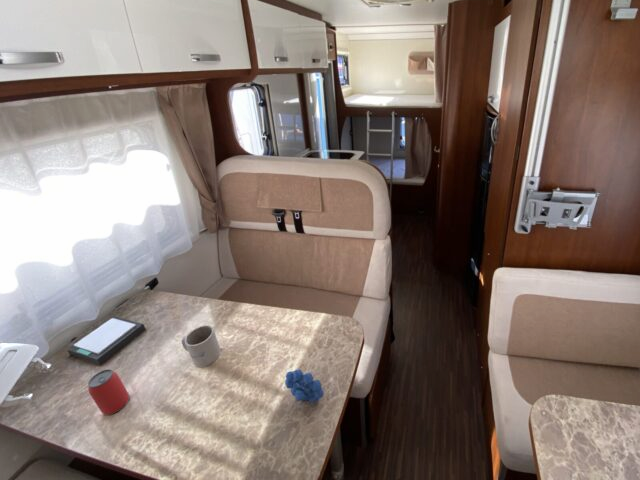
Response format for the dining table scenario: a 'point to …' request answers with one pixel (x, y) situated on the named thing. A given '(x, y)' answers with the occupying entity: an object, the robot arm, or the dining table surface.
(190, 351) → the mug
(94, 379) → the beer can
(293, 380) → the grapes
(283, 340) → the dining table surface
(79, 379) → the dining table surface
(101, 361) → the scale
